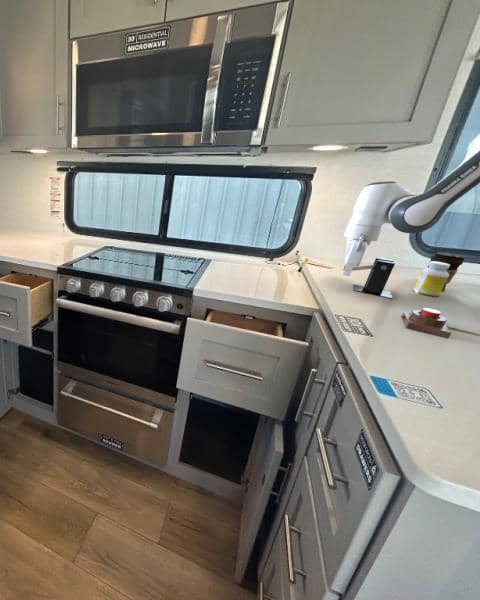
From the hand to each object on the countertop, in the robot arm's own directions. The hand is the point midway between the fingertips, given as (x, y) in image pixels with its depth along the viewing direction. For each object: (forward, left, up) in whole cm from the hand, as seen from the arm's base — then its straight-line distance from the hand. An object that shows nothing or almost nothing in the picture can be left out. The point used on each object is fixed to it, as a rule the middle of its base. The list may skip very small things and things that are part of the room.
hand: (345, 273), depth 114 cm
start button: (-19, +23, -2) cm, 30 cm away
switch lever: (-5, 0, +2) cm, 5 cm away
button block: (-19, +23, -5) cm, 30 cm away
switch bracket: (-9, 0, -5) cm, 10 cm away
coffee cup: (-28, -26, -6) cm, 38 cm away
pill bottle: (-24, -13, -6) cm, 27 cm away
